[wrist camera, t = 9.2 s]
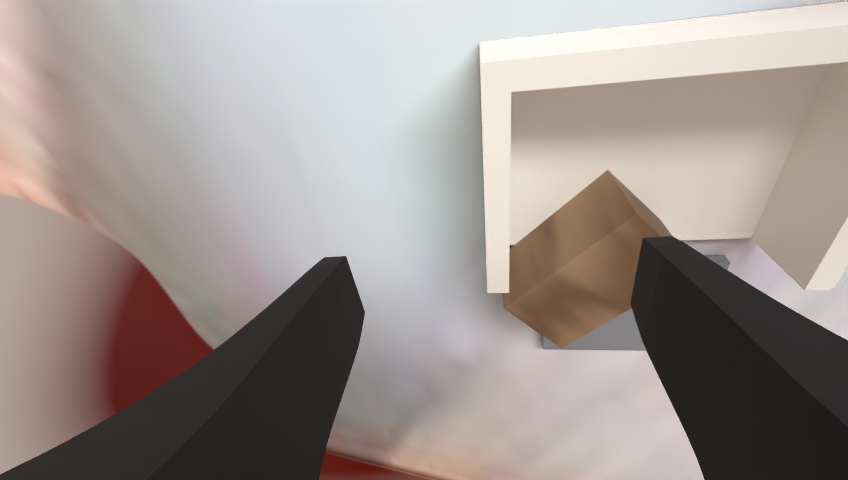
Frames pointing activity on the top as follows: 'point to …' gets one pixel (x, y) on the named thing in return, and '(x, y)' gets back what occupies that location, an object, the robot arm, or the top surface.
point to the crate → (678, 131)
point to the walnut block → (580, 262)
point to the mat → (617, 330)
